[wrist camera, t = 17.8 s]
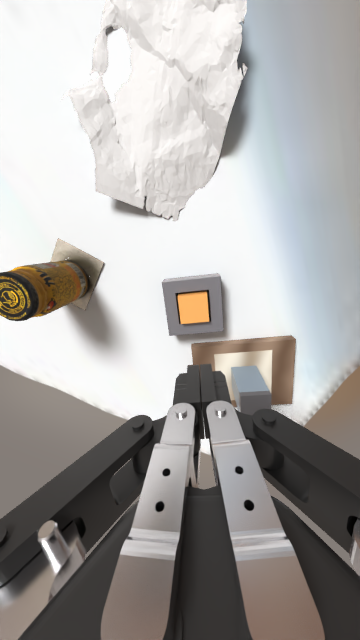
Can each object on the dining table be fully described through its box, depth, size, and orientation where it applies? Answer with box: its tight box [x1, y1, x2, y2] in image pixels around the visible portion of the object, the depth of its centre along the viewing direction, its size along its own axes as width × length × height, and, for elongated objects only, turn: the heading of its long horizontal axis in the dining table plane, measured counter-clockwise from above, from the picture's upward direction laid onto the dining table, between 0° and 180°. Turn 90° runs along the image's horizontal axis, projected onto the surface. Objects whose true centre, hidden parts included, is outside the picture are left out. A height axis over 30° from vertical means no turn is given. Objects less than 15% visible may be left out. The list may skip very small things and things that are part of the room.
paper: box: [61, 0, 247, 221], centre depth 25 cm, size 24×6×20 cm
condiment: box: [0, 238, 104, 321], centre depth 28 cm, size 7×8×12 cm
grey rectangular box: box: [231, 366, 272, 415], centre depth 33 cm, size 4×4×7 cm
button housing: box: [162, 273, 223, 336], centre depth 33 cm, size 8×8×3 cm
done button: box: [178, 290, 209, 324], centre depth 32 cm, size 4×4×3 cm
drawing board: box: [191, 335, 296, 407], centre depth 37 cm, size 16×12×2 cm
